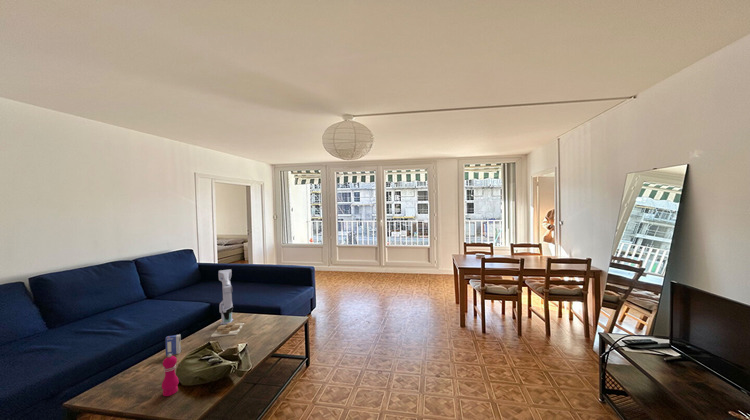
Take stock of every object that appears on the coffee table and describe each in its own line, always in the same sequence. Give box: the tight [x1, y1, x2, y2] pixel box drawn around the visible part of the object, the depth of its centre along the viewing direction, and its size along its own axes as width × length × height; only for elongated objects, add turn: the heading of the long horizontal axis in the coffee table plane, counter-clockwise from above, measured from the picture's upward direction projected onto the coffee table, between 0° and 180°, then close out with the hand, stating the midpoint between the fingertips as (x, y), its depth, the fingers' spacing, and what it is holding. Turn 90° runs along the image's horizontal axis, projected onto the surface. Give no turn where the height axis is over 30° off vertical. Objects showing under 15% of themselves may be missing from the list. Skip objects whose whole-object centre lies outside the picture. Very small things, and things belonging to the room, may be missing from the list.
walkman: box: [164, 333, 182, 357], centre depth 183 cm, size 8×3×12 cm, turn 110°
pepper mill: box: [161, 354, 180, 397], centre depth 144 cm, size 7×7×20 cm
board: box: [210, 321, 245, 338], centre depth 218 cm, size 20×18×3 cm
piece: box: [224, 312, 231, 322], centre depth 218 cm, size 4×4×6 cm
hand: (227, 318), depth 218 cm, fingers closed on piece, 4 cm apart
